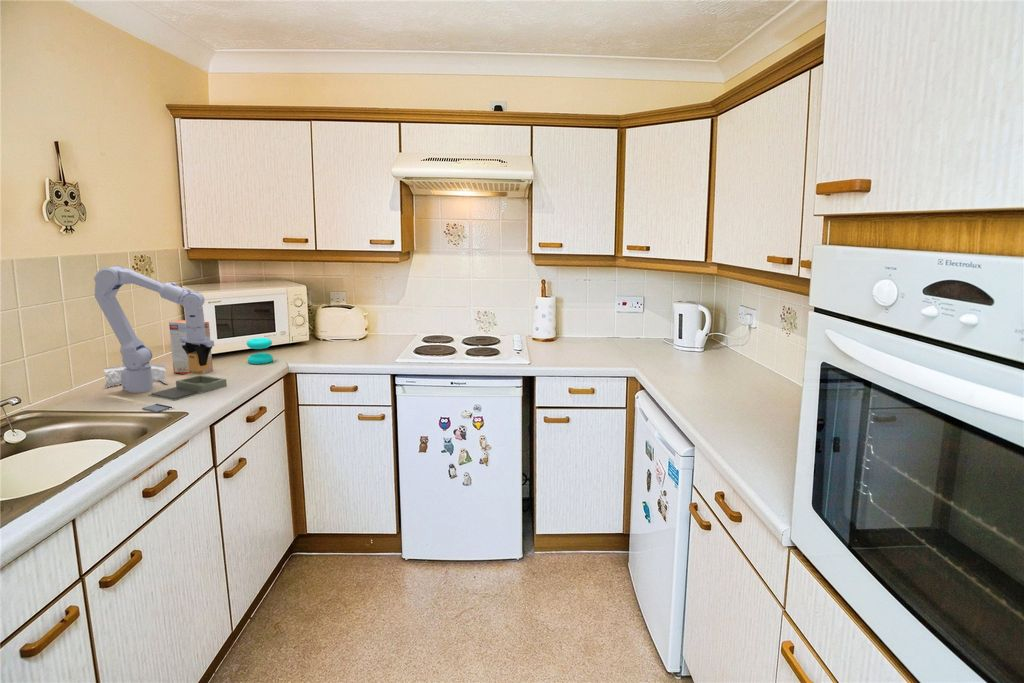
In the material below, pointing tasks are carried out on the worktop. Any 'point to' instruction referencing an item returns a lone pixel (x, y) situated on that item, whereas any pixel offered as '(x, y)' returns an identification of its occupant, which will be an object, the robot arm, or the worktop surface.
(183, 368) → the cracker box
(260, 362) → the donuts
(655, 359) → the worktop surface
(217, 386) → the grey-green tray
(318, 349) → the worktop surface
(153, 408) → the mat
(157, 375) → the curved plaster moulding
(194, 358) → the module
